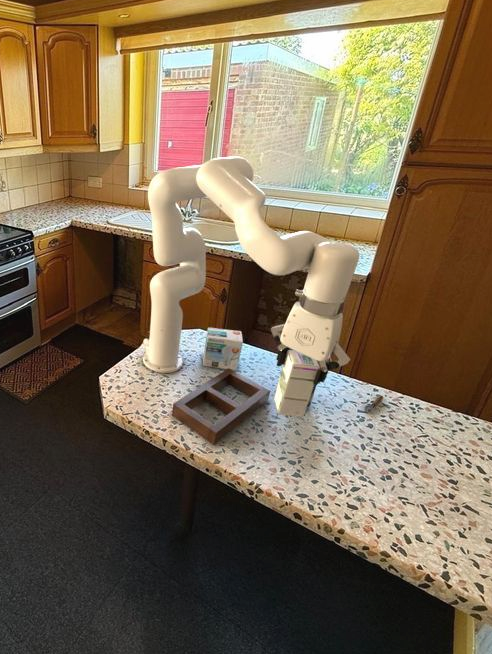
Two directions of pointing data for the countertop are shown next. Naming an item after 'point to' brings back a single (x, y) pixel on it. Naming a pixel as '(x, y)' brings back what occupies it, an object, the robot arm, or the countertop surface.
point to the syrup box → (295, 384)
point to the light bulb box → (222, 348)
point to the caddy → (220, 405)
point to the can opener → (374, 403)
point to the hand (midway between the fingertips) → (298, 372)
